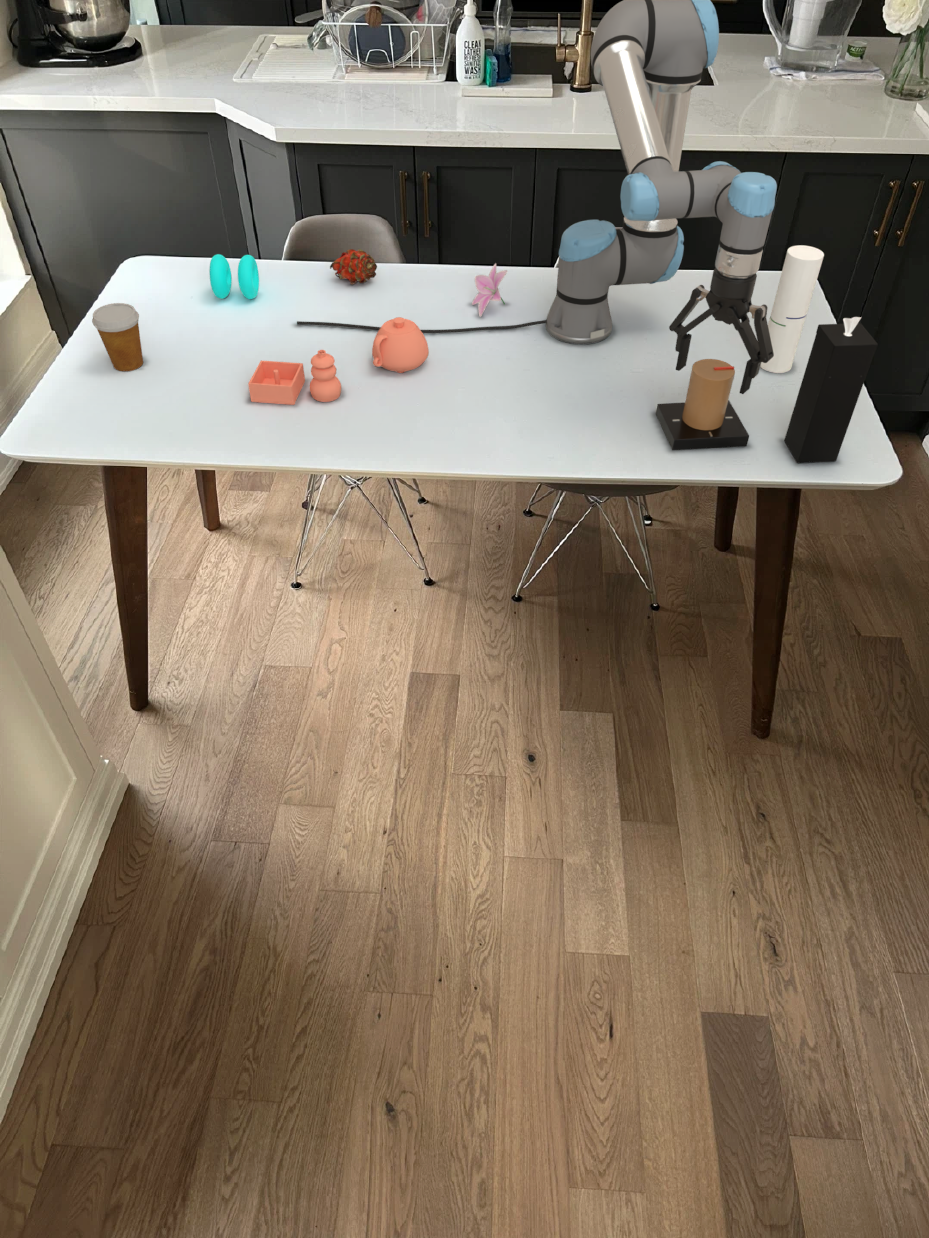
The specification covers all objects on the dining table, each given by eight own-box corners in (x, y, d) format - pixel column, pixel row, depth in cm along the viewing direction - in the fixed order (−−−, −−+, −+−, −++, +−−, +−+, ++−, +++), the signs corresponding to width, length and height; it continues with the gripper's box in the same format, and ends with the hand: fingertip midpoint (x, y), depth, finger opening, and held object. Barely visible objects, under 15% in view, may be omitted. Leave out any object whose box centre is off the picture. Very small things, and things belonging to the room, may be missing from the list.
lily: (476, 296, 227) (461, 268, 219) (521, 281, 223) (507, 252, 215) (477, 332, 222) (460, 305, 214) (522, 318, 217) (508, 289, 210)
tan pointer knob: (688, 431, 179) (699, 380, 171) (677, 409, 185) (687, 358, 177) (728, 429, 180) (741, 377, 172) (716, 407, 186) (727, 356, 178)
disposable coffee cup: (159, 359, 202) (146, 307, 194) (131, 379, 196) (116, 327, 187) (125, 349, 205) (111, 298, 196) (96, 369, 199) (80, 317, 190)
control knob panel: (672, 450, 179) (674, 439, 177) (655, 414, 188) (657, 403, 186) (746, 446, 180) (749, 435, 178) (726, 410, 189) (729, 399, 188)
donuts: (255, 306, 220) (248, 266, 213) (213, 306, 220) (205, 265, 213) (262, 287, 227) (255, 247, 220) (221, 287, 227) (214, 247, 220)
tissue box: (783, 440, 182) (823, 307, 162) (821, 439, 182) (866, 305, 162) (796, 464, 176) (840, 328, 156) (836, 462, 177) (884, 326, 157)
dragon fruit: (381, 291, 230) (336, 294, 232) (383, 259, 231) (338, 263, 234) (371, 273, 222) (324, 276, 224) (373, 240, 223) (326, 244, 226)
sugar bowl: (440, 362, 202) (439, 319, 195) (394, 386, 195) (392, 342, 188) (401, 343, 208) (399, 300, 201) (355, 366, 201) (351, 322, 194)
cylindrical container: (792, 374, 200) (825, 262, 182) (758, 371, 201) (788, 258, 183) (790, 358, 205) (822, 247, 187) (757, 355, 206) (786, 244, 188)
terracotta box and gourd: (251, 401, 190) (243, 358, 183) (263, 378, 197) (256, 335, 190) (336, 408, 189) (332, 365, 182) (346, 384, 195) (342, 341, 188)
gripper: (662, 258, 164) (645, 365, 179) (793, 298, 153) (763, 409, 168) (683, 245, 169) (664, 351, 184) (811, 283, 158) (781, 392, 172)
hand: (711, 379), depth 176 cm, fingers open, 13 cm apart
